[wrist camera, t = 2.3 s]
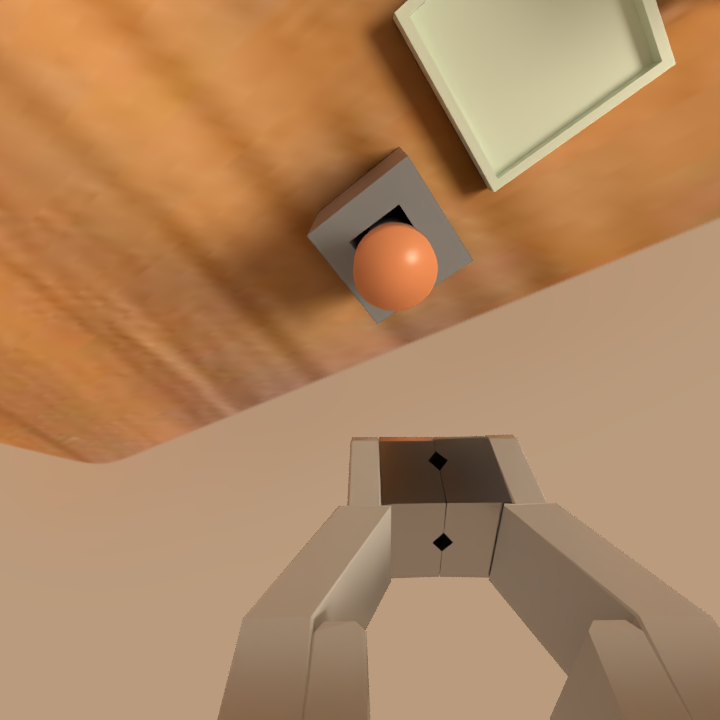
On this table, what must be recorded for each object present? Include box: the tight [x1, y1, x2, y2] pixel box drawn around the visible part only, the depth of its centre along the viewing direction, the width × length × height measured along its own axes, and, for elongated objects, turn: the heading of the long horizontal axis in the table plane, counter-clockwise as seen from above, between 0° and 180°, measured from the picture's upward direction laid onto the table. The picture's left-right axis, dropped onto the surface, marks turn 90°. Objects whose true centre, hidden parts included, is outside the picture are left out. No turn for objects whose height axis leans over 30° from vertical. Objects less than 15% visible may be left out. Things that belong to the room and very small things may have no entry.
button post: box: [307, 147, 473, 324], centre depth 24 cm, size 6×6×6 cm
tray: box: [393, 0, 676, 192], centre depth 21 cm, size 10×10×2 cm
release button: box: [353, 215, 438, 311], centre depth 20 cm, size 4×4×6 cm
